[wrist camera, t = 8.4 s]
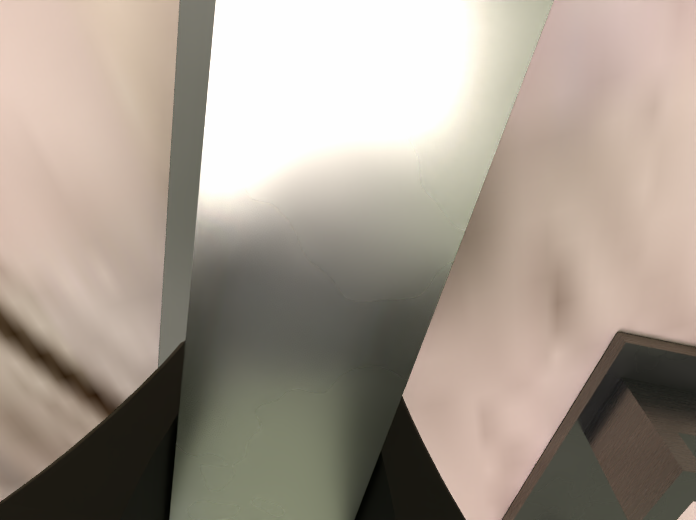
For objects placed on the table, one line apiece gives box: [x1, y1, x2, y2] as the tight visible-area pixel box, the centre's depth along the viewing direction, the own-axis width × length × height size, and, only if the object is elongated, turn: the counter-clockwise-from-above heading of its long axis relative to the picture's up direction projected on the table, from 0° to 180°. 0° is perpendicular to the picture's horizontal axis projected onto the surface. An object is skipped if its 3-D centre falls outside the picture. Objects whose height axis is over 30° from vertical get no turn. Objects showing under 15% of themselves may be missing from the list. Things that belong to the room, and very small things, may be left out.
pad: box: [158, 0, 216, 368], centre depth 16 cm, size 22×9×1 cm, turn 167°
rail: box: [169, 0, 554, 520], centre depth 10 cm, size 18×3×3 cm, turn 167°
